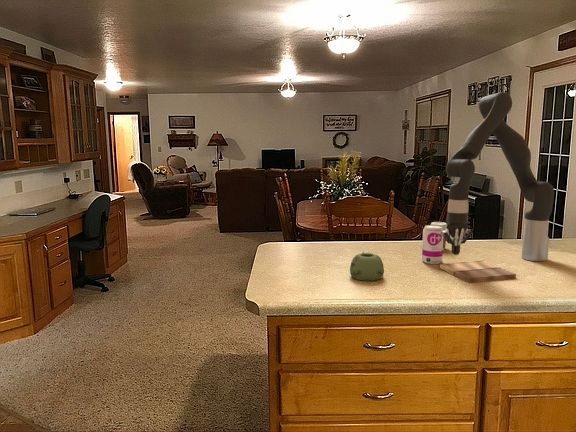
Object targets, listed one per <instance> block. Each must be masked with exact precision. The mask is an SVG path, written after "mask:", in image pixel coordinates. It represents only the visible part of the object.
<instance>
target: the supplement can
mask: <svg viewBox="0 0 576 432" xmlns="http://www.w3.org/2000/svg"><path fill="white" fill-rule="evenodd" d="M442 231H444V230H443V228H442V227H441V226H435V225H431V224H430V225H429V224H428V225H425V226H424V228H423V230H422V244H421V245H422V246H421V247H422V248H421V249H422V250H421V251H422V252H421V261H423V263H425V264H430V265H437V264H442V262H443V253H444V252H443V251H444V250H443V235H442V234H441V232H442Z"/></svg>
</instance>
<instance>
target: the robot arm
mask: <svg viewBox="0 0 576 432" xmlns="http://www.w3.org/2000/svg"><path fill="white" fill-rule="evenodd" d="M478 102H479V103H478V109H479V113H480V115H481V116H482V118H483V120H482V121H481V122H480V124H478V125H477V126H476V127H475V128H473V130H472V131H471V132H470V133H469V134H468V136H467V137H466V138H465V141H464V143H463V144H462V145H461V147H460V149H458V150H457V151H456V152H455V153H454V154H453V155H452V156H451V157H450V159H449V160H448V161H447V162H446V167H445V172H446V174H447V175H448V176H449V177H452V178H459V180H458V182H457V183H456V182H455V183H452V184H450V186H449V190H448V191H449V192H448V193H449V194H448V203H447V217H446V222H447V227H446V230H445V231H442V232H441V234H442V235H443V237H444V238H445V240H446V244H450V245H451V253H452V254H453V255H454V256H457V255H459V254H460V252H461V245H463V244H466V242H467V241H468V239H469V238H470V236H471V235H472V234H473V230H470V229H468V223H469V219H468V218H469V205H470V204H469V193H470V187H471V183H472V180H473V178H474V175H475V172H476V167H475V164H474V161H473V160H475V159H477V158H478V157H479V155H480V153H481V152H482V150H483V148H484V147H485V144H486V143H487V142H488V140H489V138H490V137H491V135H492V134H493V135H494V137H495V139H496V141H497V143H498V144H499V146H500V147H499V148H500V149H501V151H502V153H503V155H504V156H505V158H506V159H505V160H507V162H508V165H509V166H510V169H511V170H512V172H513V175H514V176H515V178H516V181H517V184H518V186H519V189H520V192H521V195H522V197H523V198H524V199H525V201H527V202H530V203H532V208H531V209H530V210H528V211H525V213H524V221H523V235H522V248H521V259H523V260H526V261H531V262H543V261H546V260H548V258H549V246H550V237H549V235H548V234H549V221H550V216H551V214H552V211H553V207H554V206H553V205H554V198H555V190H554V187H553V185H552V184H551V183H550V182H547V181H542V180H537V178H536V177H535V175H534V174H533V172H532V169H531V160H532V153H531V150H530V147H529V146H528V143H527V142H526V139H525V138H524V137H523V135H521V134H520V133H519V132H518V131H516V130H515V129H513V128H512V127H511V126H510V125H509V124H508V123H507V122H506V121H505V120H504V119H505V118H506V117H507V115H508V114H509V113H510V112H511V110H512V107H513V100H512V97H511V95H510V94H509V93H508V92H505V91H499V92H496V93H495V92H494V93H493V94H489V95H485V96H483V97H481V98H480V99H479V101H478Z"/></svg>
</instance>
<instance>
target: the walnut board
mask: <svg viewBox="0 0 576 432" xmlns="http://www.w3.org/2000/svg"><path fill="white" fill-rule="evenodd" d="M498 267H499V268H488V269H477V270H466V271H455V274H454V275H453V276H454V277H456V278H459V279H460V280H463V281H465V282H467V283H469V284H470V283H479V282H480V283H481V282H489V281H498V280H499V281H500V280H509V279H511V280H512V279H516V278H517V274H516V273H514V272H513V271H510V270H508V269H507V270H506V269H505V268H502V267H500V266H498Z"/></svg>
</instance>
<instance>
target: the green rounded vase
mask: <svg viewBox="0 0 576 432" xmlns="http://www.w3.org/2000/svg"><path fill="white" fill-rule="evenodd" d="M349 273H350V276H352V277H353V278H354V279H356V280H358V281H367V282H371V281H378V280H380V279H381V278H383V277H384V273H385V266H384V263H383V260H382V258H381V257H380V256H379V255H378V254H375V253H370V252H364V251H363V252H361V253H357V254H356V255H355V256H354V257H353V258H352V259H351V262H350V266H349Z"/></svg>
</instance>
